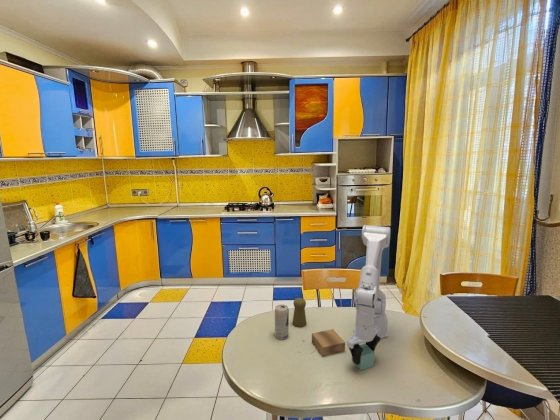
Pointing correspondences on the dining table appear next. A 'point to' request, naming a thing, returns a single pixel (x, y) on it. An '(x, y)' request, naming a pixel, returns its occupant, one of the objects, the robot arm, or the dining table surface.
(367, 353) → the teal cube
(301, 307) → the cork
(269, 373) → the dining table surface
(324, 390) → the dining table surface
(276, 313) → the energy drink
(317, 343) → the walnut block
